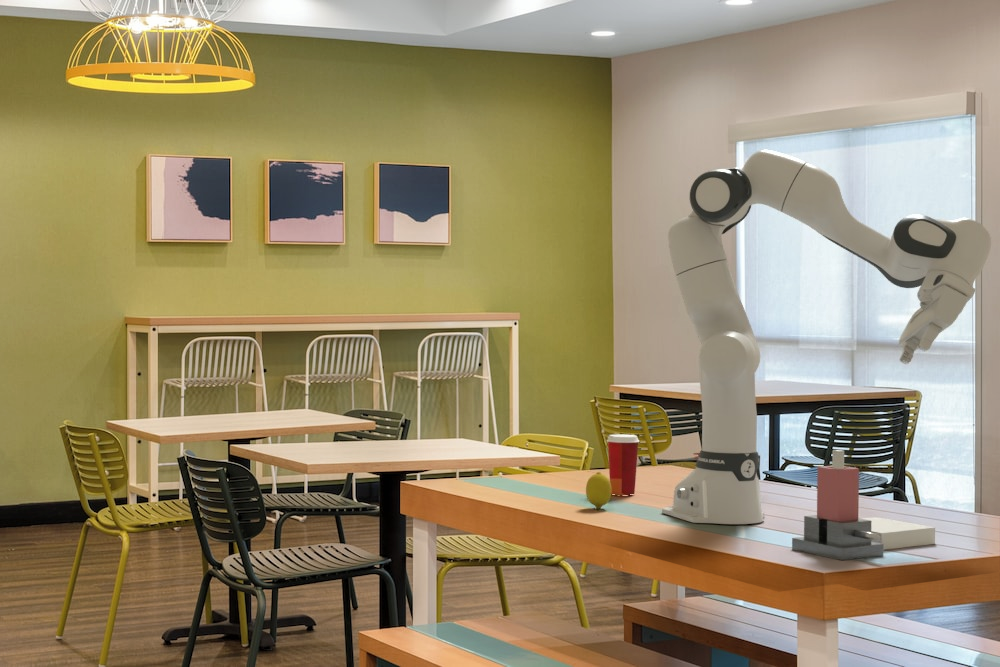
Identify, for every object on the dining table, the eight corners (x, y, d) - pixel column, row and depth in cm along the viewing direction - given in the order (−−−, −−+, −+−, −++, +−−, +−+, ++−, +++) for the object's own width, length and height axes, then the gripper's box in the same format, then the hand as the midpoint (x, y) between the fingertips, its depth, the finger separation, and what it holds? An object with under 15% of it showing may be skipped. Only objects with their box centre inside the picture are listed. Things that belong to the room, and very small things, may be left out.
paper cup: (639, 493, 293) (640, 434, 293) (637, 497, 286) (638, 437, 286) (607, 492, 295) (607, 433, 295) (604, 496, 287) (604, 436, 287)
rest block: (824, 537, 233) (824, 522, 233) (876, 532, 240) (876, 517, 240) (881, 549, 221) (881, 533, 221) (934, 543, 228) (935, 527, 228)
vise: (792, 549, 220) (793, 448, 220) (832, 544, 226) (833, 446, 225) (858, 563, 207) (859, 457, 207) (899, 558, 212) (900, 454, 212)
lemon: (601, 511, 263) (601, 474, 263) (580, 508, 267) (581, 471, 267) (616, 508, 267) (616, 472, 267) (596, 506, 271) (596, 469, 271)
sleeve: (816, 517, 219) (817, 466, 219) (837, 515, 221) (837, 465, 221) (837, 521, 214) (838, 469, 214) (858, 519, 217) (859, 468, 217)
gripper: (908, 303, 246) (879, 361, 242) (948, 270, 226) (918, 332, 223) (936, 319, 245) (908, 377, 242) (979, 287, 226) (949, 349, 222)
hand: (913, 355), depth 232 cm, fingers open, 8 cm apart
